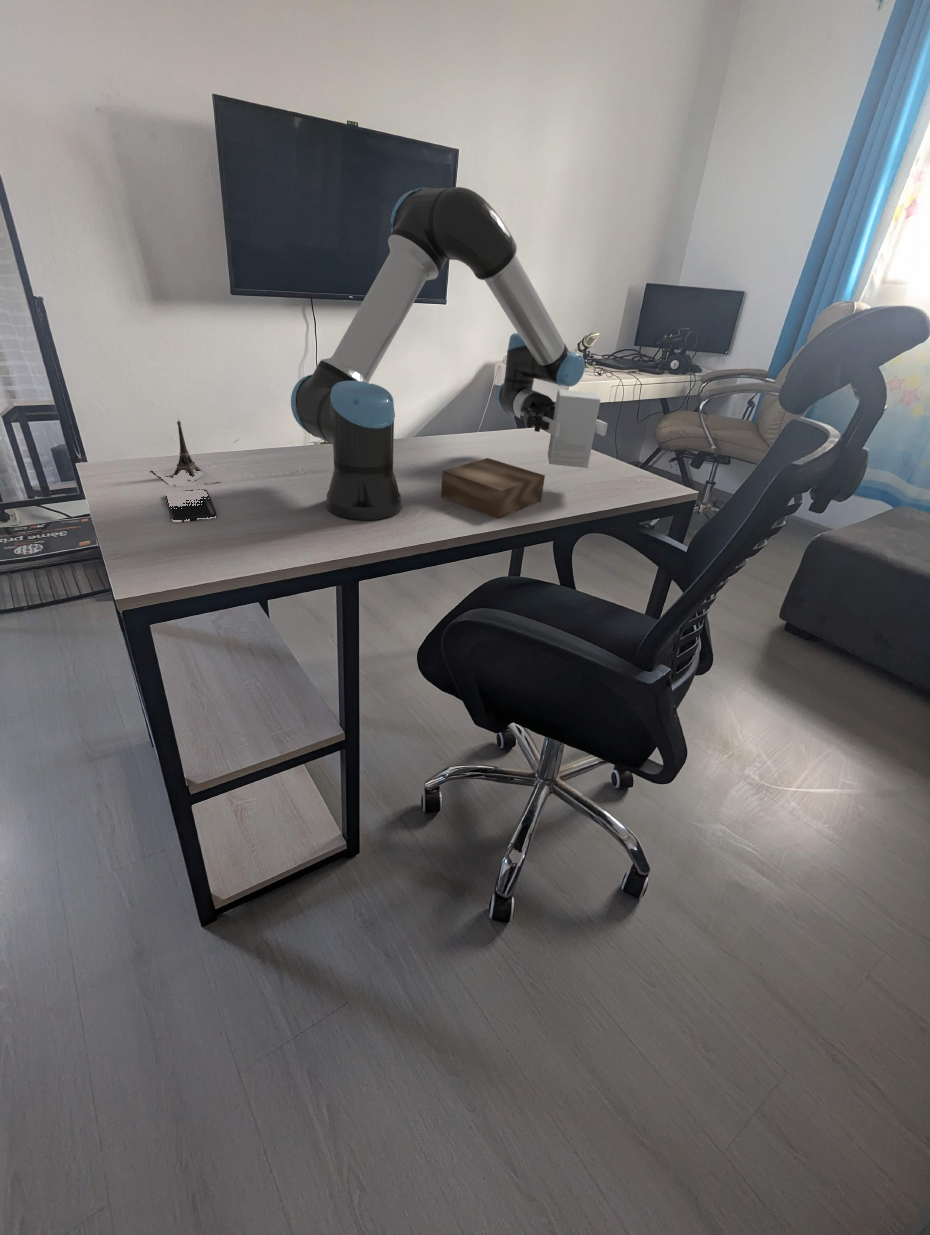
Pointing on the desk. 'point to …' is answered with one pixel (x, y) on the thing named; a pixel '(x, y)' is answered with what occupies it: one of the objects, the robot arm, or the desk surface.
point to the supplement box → (574, 428)
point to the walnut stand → (492, 487)
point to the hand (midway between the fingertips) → (582, 429)
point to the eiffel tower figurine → (184, 456)
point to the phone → (193, 509)
